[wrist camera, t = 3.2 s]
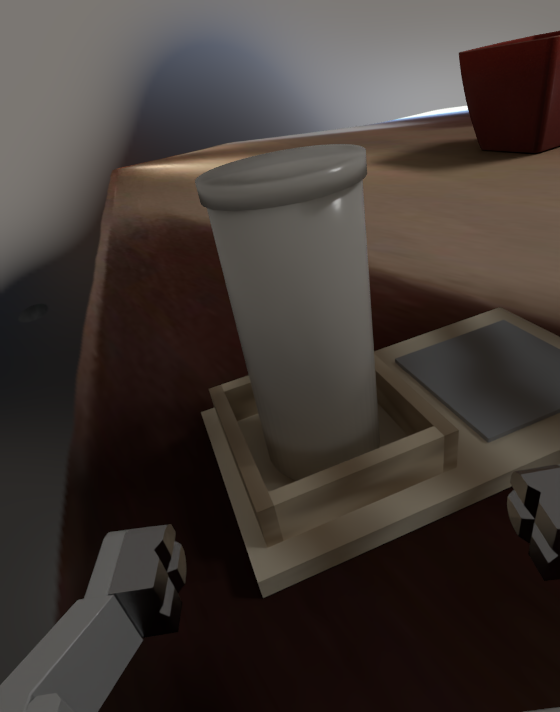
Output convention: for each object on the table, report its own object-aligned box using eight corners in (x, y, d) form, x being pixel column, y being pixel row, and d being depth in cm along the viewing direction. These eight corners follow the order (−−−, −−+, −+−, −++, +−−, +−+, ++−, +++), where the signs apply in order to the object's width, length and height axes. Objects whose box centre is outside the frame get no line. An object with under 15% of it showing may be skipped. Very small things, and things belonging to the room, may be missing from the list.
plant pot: (452, 153, 88) (455, 51, 79) (524, 132, 94) (534, 34, 85) (538, 161, 73) (554, 35, 64) (618, 135, 78) (643, 15, 70)
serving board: (498, 320, 35) (503, 277, 33) (672, 413, 25) (693, 357, 23) (205, 425, 31) (190, 382, 29) (263, 597, 20) (245, 547, 18)
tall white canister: (397, 476, 23) (385, 161, 15) (265, 496, 23) (184, 199, 15) (360, 370, 31) (339, 131, 23) (262, 386, 31) (209, 156, 23)
